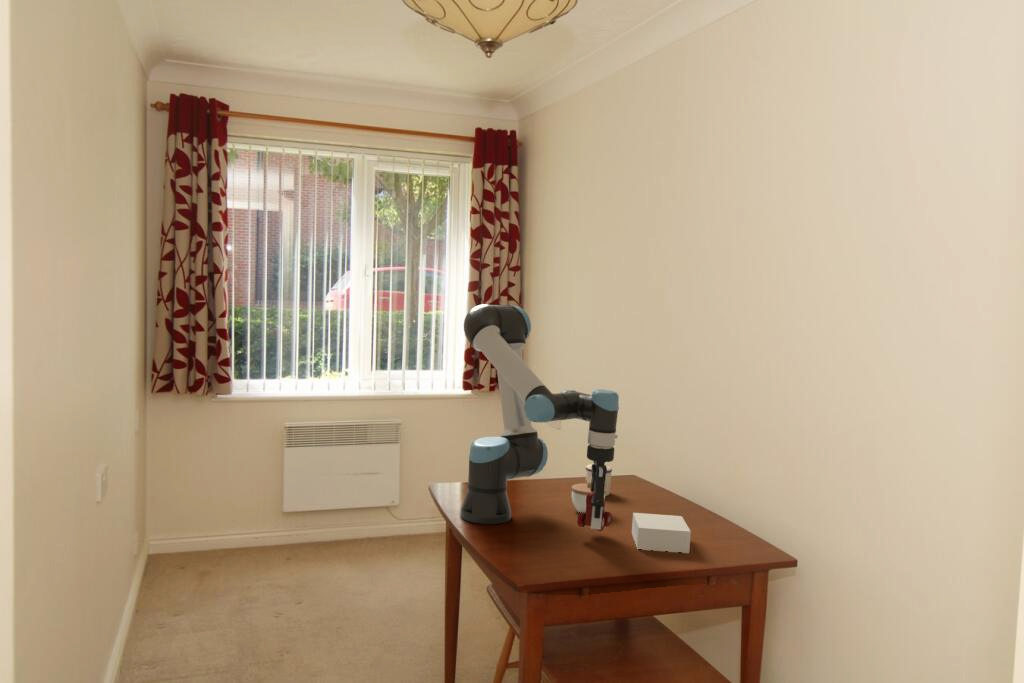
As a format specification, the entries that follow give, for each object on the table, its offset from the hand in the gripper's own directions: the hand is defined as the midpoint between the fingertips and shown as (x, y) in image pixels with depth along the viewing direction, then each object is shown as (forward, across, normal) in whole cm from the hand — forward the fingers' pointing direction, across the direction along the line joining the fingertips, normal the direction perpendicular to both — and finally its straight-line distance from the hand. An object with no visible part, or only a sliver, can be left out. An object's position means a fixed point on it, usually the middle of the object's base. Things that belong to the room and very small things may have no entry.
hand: (594, 521), depth 211 cm
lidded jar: (+5, +24, 0) cm, 25 cm away
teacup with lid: (+5, +46, -4) cm, 47 cm away
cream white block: (+4, 0, -18) cm, 19 cm away
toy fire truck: (+1, 0, 0) cm, 1 cm away
